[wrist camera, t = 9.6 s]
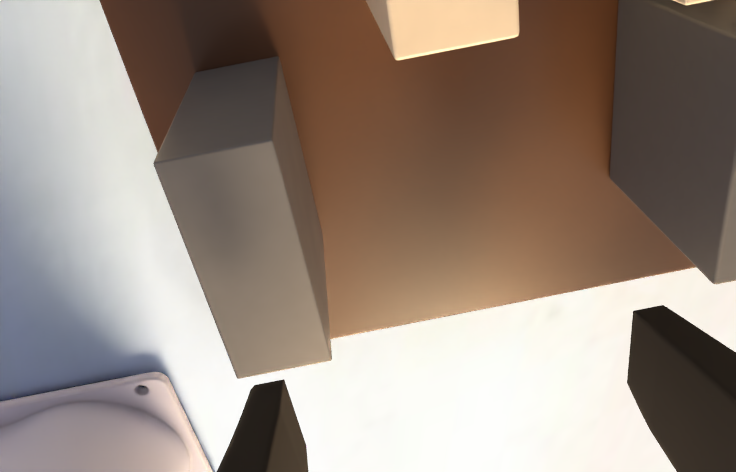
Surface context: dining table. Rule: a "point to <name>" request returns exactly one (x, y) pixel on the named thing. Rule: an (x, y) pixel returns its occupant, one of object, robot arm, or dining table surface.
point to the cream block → (690, 1)
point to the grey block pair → (298, 211)
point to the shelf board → (427, 148)
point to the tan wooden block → (443, 24)
